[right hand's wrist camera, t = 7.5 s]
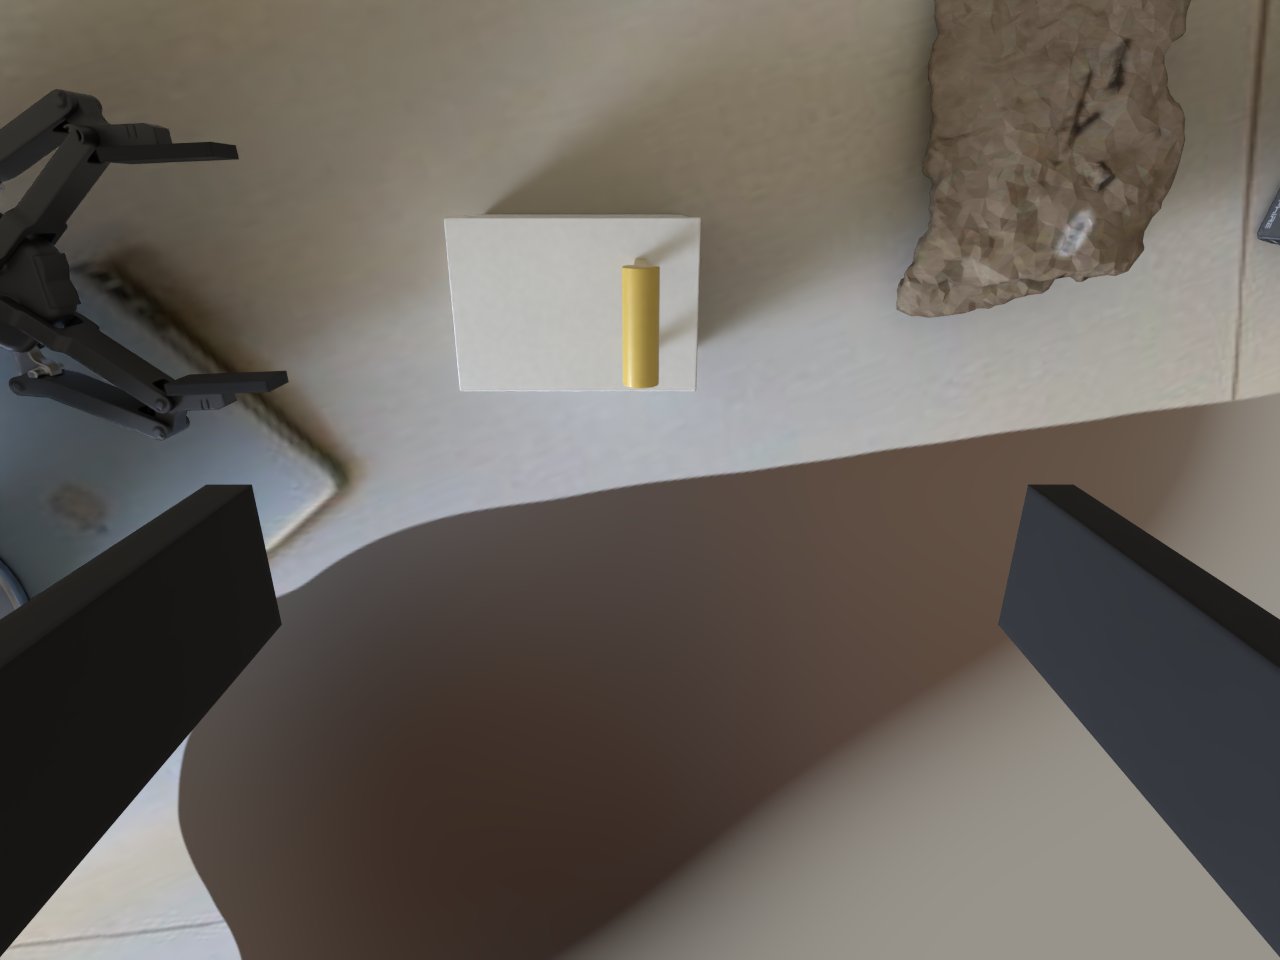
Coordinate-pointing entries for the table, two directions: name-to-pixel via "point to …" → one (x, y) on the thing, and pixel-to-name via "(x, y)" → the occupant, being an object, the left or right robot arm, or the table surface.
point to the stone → (1042, 146)
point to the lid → (575, 302)
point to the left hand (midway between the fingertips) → (253, 272)
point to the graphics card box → (1271, 223)
